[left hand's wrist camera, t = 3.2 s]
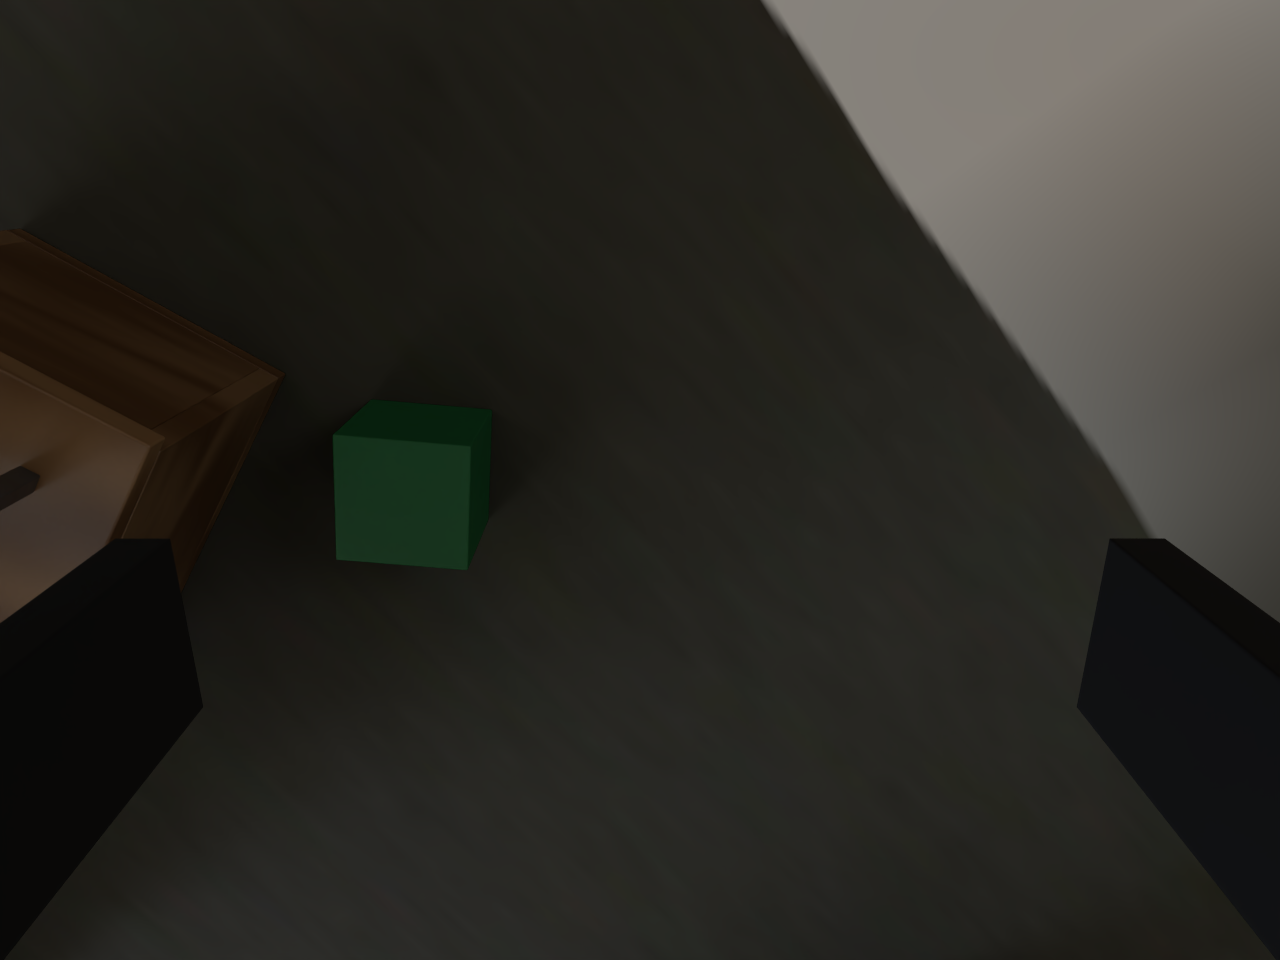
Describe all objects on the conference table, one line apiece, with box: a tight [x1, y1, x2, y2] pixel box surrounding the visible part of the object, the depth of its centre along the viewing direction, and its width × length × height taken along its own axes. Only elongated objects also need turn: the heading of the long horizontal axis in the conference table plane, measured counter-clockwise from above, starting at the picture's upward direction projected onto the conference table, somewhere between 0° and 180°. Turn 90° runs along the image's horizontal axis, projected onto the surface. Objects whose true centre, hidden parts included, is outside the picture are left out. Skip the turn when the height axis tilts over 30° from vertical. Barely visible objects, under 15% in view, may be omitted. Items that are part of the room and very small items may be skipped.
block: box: [332, 399, 492, 570], centre depth 39 cm, size 6×6×6 cm
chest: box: [0, 229, 285, 592], centre depth 36 cm, size 17×12×11 cm
